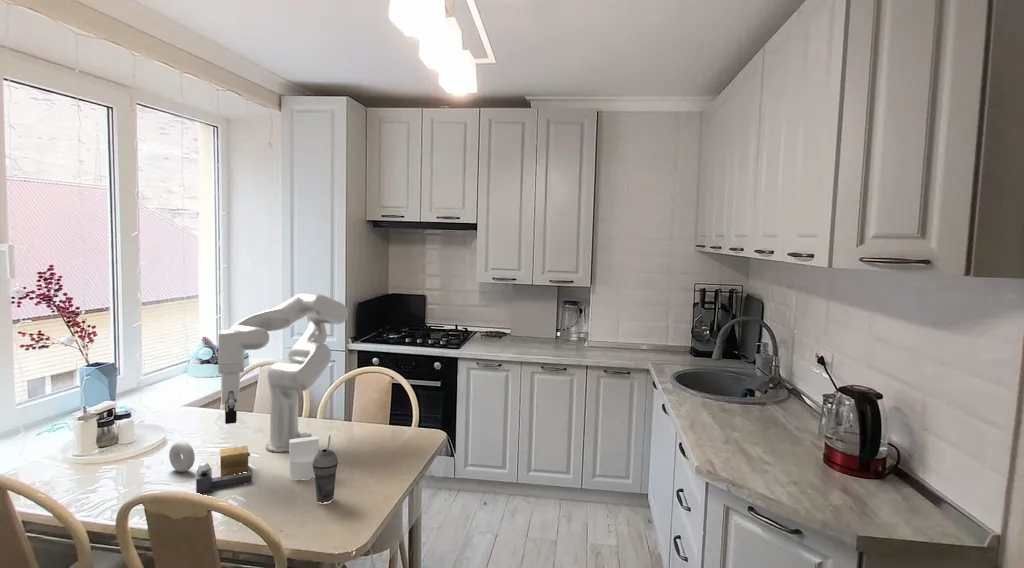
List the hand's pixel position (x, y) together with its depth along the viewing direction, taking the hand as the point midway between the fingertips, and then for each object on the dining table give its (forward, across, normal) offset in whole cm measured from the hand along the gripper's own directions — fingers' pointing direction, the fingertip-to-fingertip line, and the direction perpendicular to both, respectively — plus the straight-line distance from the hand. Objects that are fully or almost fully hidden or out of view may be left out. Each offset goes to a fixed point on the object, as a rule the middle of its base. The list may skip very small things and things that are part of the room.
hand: (230, 418), depth 175 cm
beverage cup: (+18, +34, +25) cm, 45 cm away
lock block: (+18, +1, +1) cm, 18 cm away
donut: (+18, -6, -14) cm, 23 cm away
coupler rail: (+18, +11, -2) cm, 21 cm away
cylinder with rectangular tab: (+18, +13, +21) cm, 31 cm away
